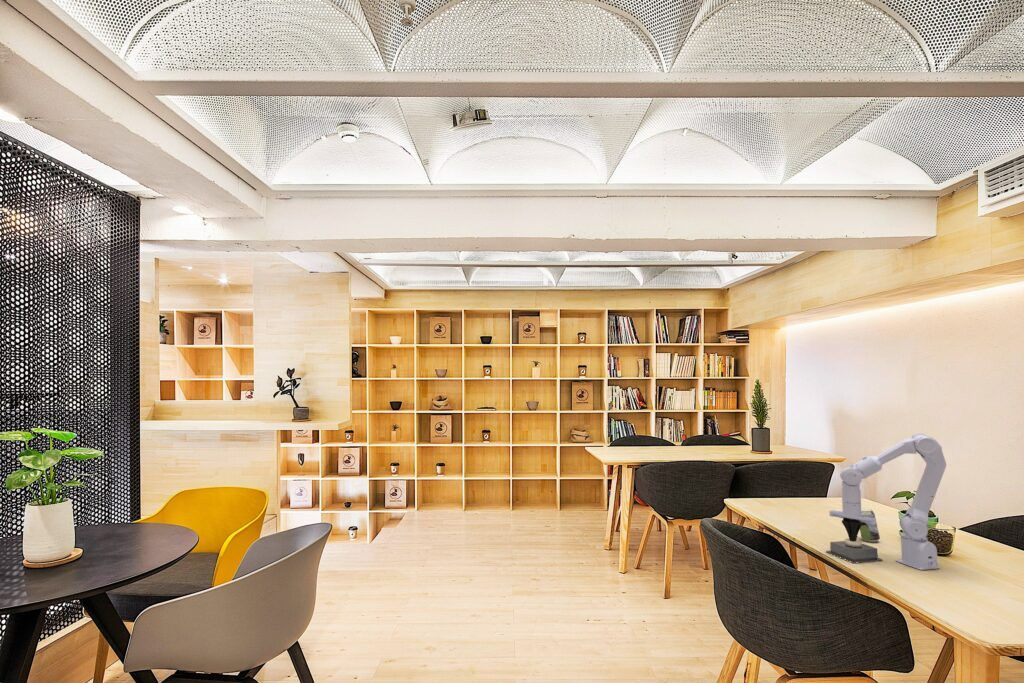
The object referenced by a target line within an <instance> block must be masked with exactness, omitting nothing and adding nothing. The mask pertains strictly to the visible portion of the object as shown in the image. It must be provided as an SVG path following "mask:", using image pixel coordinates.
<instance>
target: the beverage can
mask: <svg viewBox="0 0 1024 683" xmlns="http://www.w3.org/2000/svg"><path fill="white" fill-rule="evenodd" d="M861 515H864V516H867V517H871V518H876V514H875V512H874V511H873V510H872V509H870V508H861ZM859 532H860V535H861V539H862V540H864V542H872V543H873V542H878V541H879V540H880V539H881V538H880V533H879V528H878V523H877V522H876V524H875V525H872V524H869V523H864V522H863V524H862V526H861V528H860V530H859Z"/></svg>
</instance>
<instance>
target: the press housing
mask: <svg viewBox="0 0 1024 683" xmlns="http://www.w3.org/2000/svg"><path fill="white" fill-rule="evenodd" d="M829 546H830V550H826V551H825V553H826V552H827V554H828V553H829V555H831V554H832V556H833V555H835V556H834V557H836V556H838V557H841V558H843V559H846V560H848V561H851V562H853V563H852V564H854V563H855V564H857V563H856V562H867V563H876V562H875V561H879V562H883V560H884V559H883V558H881V557H880V558H879V557H878V556H879V555H878V554H879V553H878V548H877V547H873V546H871V545H868V544H865V543H862V546H861V547H852V546H848V545H846V544H845V540H840V541H839V540H838V541H830V544H829ZM838 557H837V558H838ZM841 558H840V559H841ZM843 559H842V560H843ZM846 560H845V561H846ZM848 561H847V562H848ZM851 562H850V563H851Z"/></svg>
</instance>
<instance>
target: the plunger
mask: <svg viewBox="0 0 1024 683" xmlns="http://www.w3.org/2000/svg"><path fill="white" fill-rule="evenodd" d="M844 541H845V544H846V545H848V546H852V547H861V546H862V544H863V542H862V541H861V540H860V539H857V540H856V541H854V542H853V541H850V540H849V538H845V539H844Z"/></svg>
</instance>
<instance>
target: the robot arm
mask: <svg viewBox="0 0 1024 683" xmlns="http://www.w3.org/2000/svg"><path fill="white" fill-rule="evenodd" d="M907 454H909V455H911V454H912V455H913V454H914V455H915V454H919V455H920V457H921V458H922V459H923V461H924V463H925V464H926V465H925V468H924V470H923V472H922V476H921V478H920V481H919V484H918V486H917V489H916V492H915V495H914V497H913V500H912V502H911V505H910V507H908V509H907V510H906V512H905V514H904V515H903V516H902V517H901V516H900V517H901V518H900V519H899V522H898V523H899V526H900V528H901V529H902V532H901V533H900V543H901V544H900V546H901V547H900V548H901V558H899V559H897V558H896V559H895V560H894V561H896V563H897V562H898V563H900V564H904V565H906V566H909V567H912V568H913V569H917V570H921V571H923V570H935V569H937V570H938V569H940V566H939V565H938V563H939V562H938V550H937V546H936V545H935V544H934V543H932V542H930V541H929V540H928V533H929V530H928V524H929V512H930V510H931V507H932V505H933V502H934V500H935V497H936V494H937V492H938V488H939V486H940V484H941V481H942V477H943V475H944V473H945V470H946V468H947V462H946V459H945V456H944V452H943V446H941V444H940V443H939V442H938V441H937V439H935V438H934V437H933V436H929V435H926V434H923V433H915V434H914V435H912V436H911V437H906V438H905V439H902V440H901V441H899V442H897V443H895V444H894V445H893V446H891V447H889V448H888V449H886V450H885V451H883V452H881V453H879V454H878V455H876V456H874V455H868V456H866V455H864V456H862V457H861V460H859V461H857V462H855V463H851V464H849V466H848V467H844V468H842V470H841V471H840V474H839V476H840V479H841V480H842V481H841V486H842V487H841V502H842V503H841V504H842V508H841V509H842V511H841V510H834V509H833V510H832V509H831V510H829V517H835V518H839V519H842V520H841V523H842V525H843V527H844V528H845V530H846V532H847V536H848V539H849V540H850V541H853V542H854V541H856V540H858V539H857V538H858V534H859V532H860V528H861V526H862V524H863V522H864V523H869V524H872V525H875V524H876V523H877V519H876V517H875V518H871V517H867V516H864V515H861V509H862V496H861V495H862V492H861V485H860V484H861V483H862V480H864V479H865V480H866V479H867V478H869V477H871V476H873V475H875V474H876V473H878V472H880V471H881V470H882V469H883V465H885V464H887V463H889V462H890V461H893V460H895V459H896V458H899V457H901V456H903V455H907ZM931 496H933V497H931Z"/></svg>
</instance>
